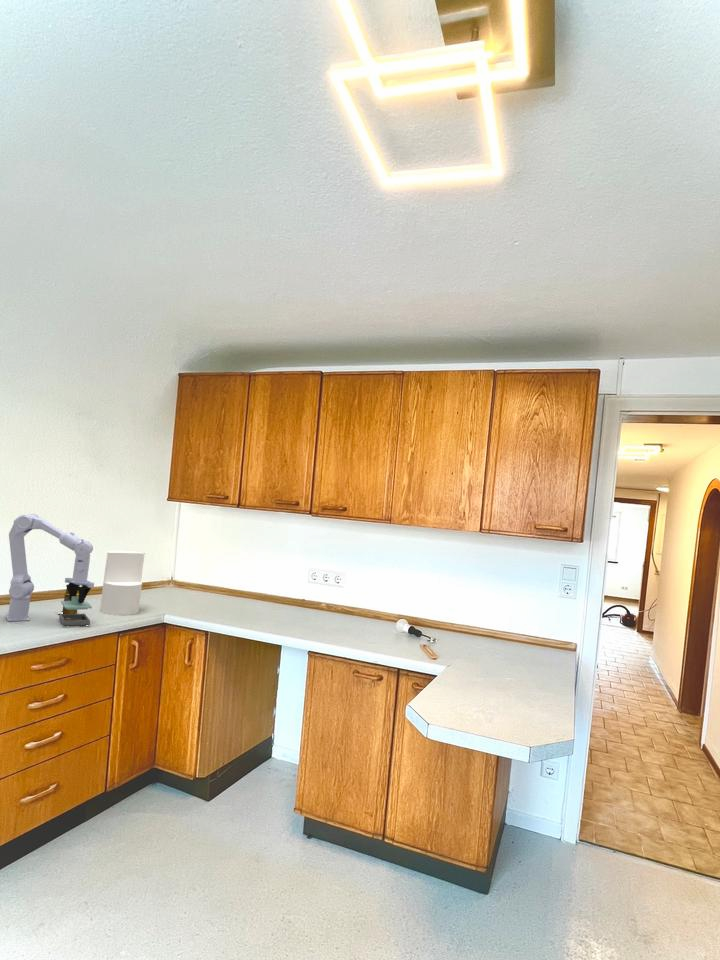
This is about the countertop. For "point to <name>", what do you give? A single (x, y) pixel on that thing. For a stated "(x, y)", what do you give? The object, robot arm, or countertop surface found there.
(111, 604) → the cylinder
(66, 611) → the condiment
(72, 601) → the lid
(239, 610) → the countertop surface
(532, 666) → the countertop surface
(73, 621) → the grey tray
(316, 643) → the countertop surface
